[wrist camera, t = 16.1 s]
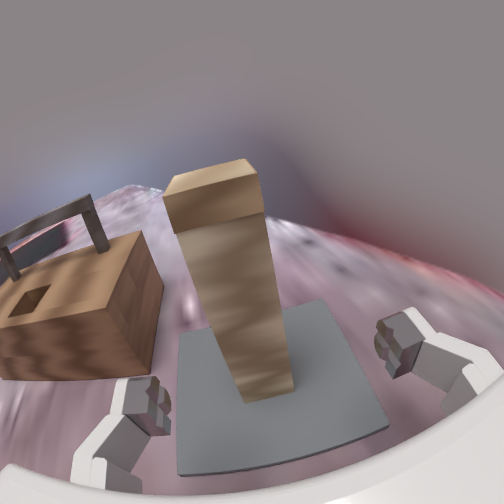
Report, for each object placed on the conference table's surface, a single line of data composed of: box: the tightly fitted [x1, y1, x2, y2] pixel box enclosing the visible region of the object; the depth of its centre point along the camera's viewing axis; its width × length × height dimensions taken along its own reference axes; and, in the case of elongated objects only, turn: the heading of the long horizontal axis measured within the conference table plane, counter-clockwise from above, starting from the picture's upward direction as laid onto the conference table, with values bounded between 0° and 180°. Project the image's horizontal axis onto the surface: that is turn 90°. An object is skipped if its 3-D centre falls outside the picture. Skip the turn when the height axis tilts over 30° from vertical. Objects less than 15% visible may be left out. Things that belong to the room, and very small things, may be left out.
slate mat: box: [176, 299, 390, 477], centre depth 19 cm, size 14×14×1 cm
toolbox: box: [0, 194, 164, 381], centre depth 24 cm, size 24×14×14 cm, turn 99°
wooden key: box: [163, 158, 295, 403], centre depth 15 cm, size 4×4×15 cm
